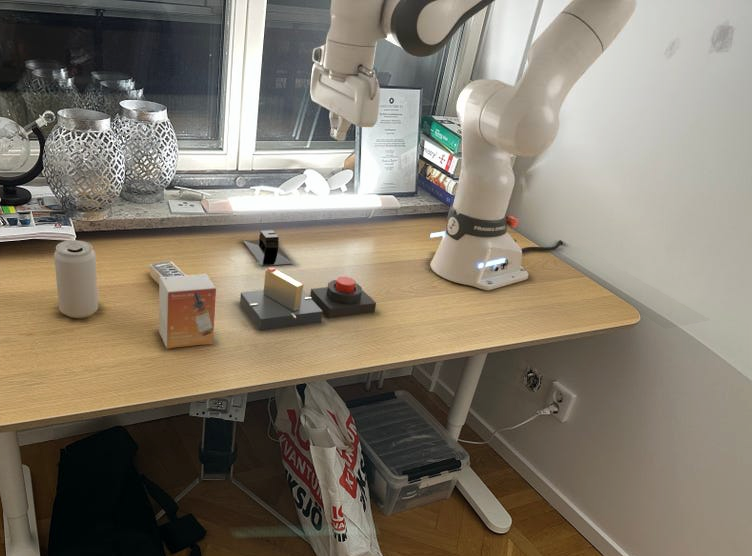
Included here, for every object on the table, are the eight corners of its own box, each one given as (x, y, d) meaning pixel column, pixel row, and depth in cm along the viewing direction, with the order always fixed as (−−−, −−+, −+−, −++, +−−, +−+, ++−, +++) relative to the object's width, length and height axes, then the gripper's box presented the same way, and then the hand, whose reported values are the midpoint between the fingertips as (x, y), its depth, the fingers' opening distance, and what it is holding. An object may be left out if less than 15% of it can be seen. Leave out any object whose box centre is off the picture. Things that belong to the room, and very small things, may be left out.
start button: (348, 283, 126) (349, 275, 125) (357, 292, 124) (359, 284, 123) (331, 285, 125) (333, 277, 124) (340, 294, 122) (342, 286, 121)
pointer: (300, 309, 118) (303, 283, 115) (293, 311, 117) (297, 285, 114) (269, 291, 122) (272, 266, 119) (263, 293, 121) (265, 268, 118)
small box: (166, 349, 106) (166, 292, 100) (158, 332, 110) (158, 275, 105) (214, 344, 109) (217, 287, 104) (204, 327, 113) (207, 272, 108)
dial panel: (296, 294, 128) (297, 282, 126) (324, 326, 119) (326, 313, 117) (237, 301, 123) (238, 288, 121) (262, 334, 114) (263, 321, 112)
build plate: (293, 265, 139) (295, 245, 136) (260, 267, 136) (262, 247, 134) (272, 241, 148) (274, 221, 146) (242, 242, 145) (243, 222, 143)
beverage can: (63, 322, 109) (57, 256, 103) (56, 304, 114) (50, 240, 107) (102, 317, 112) (98, 253, 106) (93, 300, 117) (90, 237, 110)
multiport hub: (174, 300, 120) (174, 288, 119) (149, 274, 127) (149, 263, 126) (195, 295, 123) (196, 284, 121) (170, 271, 130) (170, 260, 128)
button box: (354, 293, 131) (357, 275, 129) (374, 313, 125) (378, 294, 123) (309, 298, 127) (312, 280, 125) (328, 319, 121) (331, 300, 119)
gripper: (394, 73, 111) (379, 155, 118) (338, 50, 125) (328, 124, 133) (362, 71, 108) (349, 155, 115) (308, 48, 123) (300, 124, 130)
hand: (337, 138), depth 124 cm, fingers closed
